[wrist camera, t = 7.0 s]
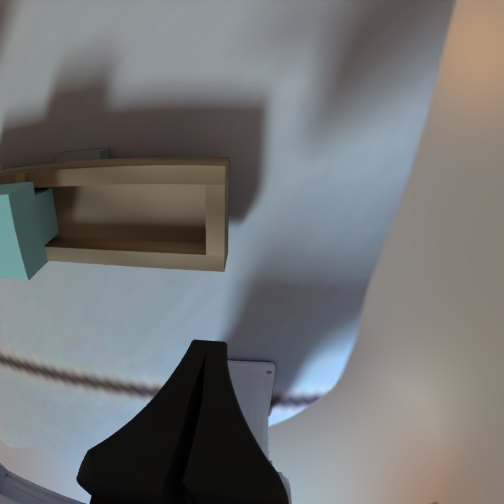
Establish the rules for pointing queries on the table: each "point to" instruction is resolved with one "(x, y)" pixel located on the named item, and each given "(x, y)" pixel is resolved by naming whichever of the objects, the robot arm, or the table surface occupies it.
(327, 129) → the table surface
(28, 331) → the table surface
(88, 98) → the table surface
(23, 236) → the block
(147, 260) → the wooden tray
